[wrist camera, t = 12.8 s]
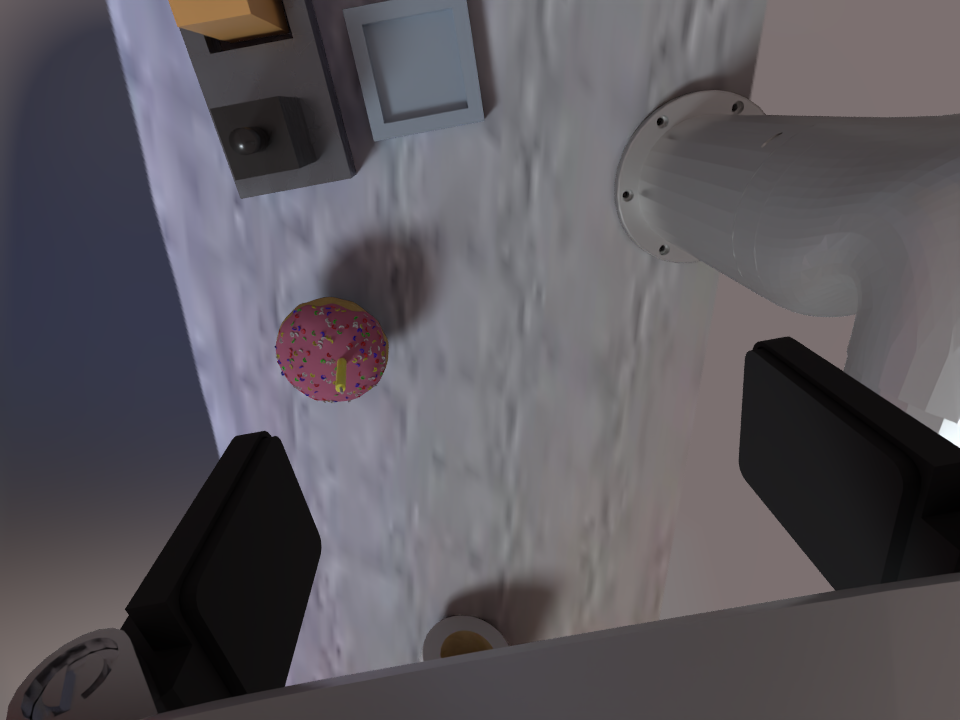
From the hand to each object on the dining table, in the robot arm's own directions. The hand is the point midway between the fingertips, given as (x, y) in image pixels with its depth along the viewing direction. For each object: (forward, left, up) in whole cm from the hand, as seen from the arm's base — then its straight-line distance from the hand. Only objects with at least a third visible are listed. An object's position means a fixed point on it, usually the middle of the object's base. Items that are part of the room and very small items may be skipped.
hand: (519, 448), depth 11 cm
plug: (+11, -14, -33) cm, 38 cm away
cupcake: (+12, +9, -34) cm, 37 cm away
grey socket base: (+12, -11, -33) cm, 37 cm away
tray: (+2, -9, -33) cm, 35 cm away
